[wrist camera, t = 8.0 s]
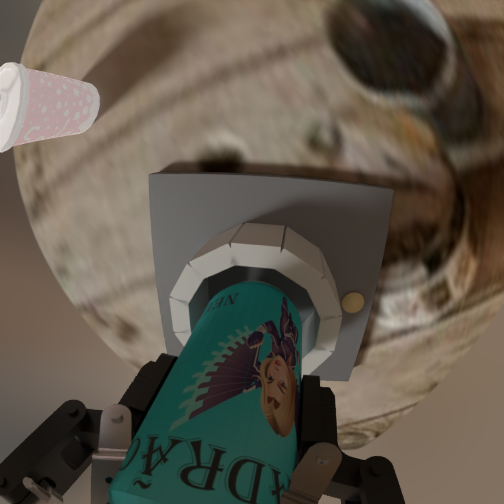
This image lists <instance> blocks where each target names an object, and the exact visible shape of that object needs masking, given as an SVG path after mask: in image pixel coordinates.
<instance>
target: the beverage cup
mask: <svg viewBox="0 0 504 504" xmlns="http://www.w3.org/2000/svg"><path fill="white" fill-rule="evenodd" d="M98 110H99V94H98V91H97V89H96V88H95V87H94V86H93V85H92V84H90V83H87V82H83V81H79V80H75V79H72V78H68V77H64V76H60V75H55V74H51V73H46V72H42V71H37V70H32V69H27V68H25V67H24V66H23V65H22V64H17V63H5V64H4V65H3V66H2V67H0V152H4V151H6V150H8V149H10V148H11V146H16V145H20V144H25V143H29V142H34V141H39V140H44V139H50V138H55V137H61V136H67V135H74V134H79V133H82V132H85V131H86V130H87V129H88V128H89V127H91V125H92V124H93V122H94V120H95V119H96V117H97V113H98Z"/></svg>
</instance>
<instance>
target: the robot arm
mask: <svg viewBox="0 0 504 504" xmlns="http://www.w3.org/2000/svg"><path fill="white" fill-rule="evenodd" d="M177 359H178V357H177V356H174V355H169V354H165V353H162V354H161V355H160V356H159V358H158V359H157V361H156V362H153V361H150V362H148V363H147V364H146V365H144V366H143V367H142V368H141V370H140V371H139V373H138V374H137V376H136V377H135V379H134V381H133V382H132V383H131V385H130V386H129V388H128V389H127V391H126V392H125V394H124V395H123V397H122V399H121V400H120V402H119V403H118V404H114V405H110V406H108V407H107V408H105V409H104V410H92V409H86V407H85V405H84V404H83V403H82V402H81V401H79V400H69V401H66V402H65V403H63V404H62V405H61V406H60V407H59V408H58V409H57V410H56V411H55V412H54V413H53V414H52V415H51V416H50V417H48V418H47V419H46V420H45V421H44V422H43V423H42V424H41V425H40V426H39V427H38V428H37V429H36V430H35V431H34V432H33V433H32V434H31V435H30V436H29V437H27V438H26V439H25V440H24V441H23V442H22V443H21V444H20V445H19V446H18V447H17V448H16V449H15V450H14V451H13V452H12V453H11V454H10V455H9V456H8V457H7V458H6V459H5V460H4V461H3V462H2V463H1V464H0V496H1V497H2V498H4V499H5V500H6V501H7V502H8V503H10V504H63V498H62V496H63V495H64V493H65V492H66V491H67V490H68V489H69V488H70V486H72V484H73V483H74V482H75V481H76V480H77V479H78V478H79V476H80V475H81V474H82V473H83V472H84V471H85V470H86V468H87V467H88V466H89V465H90V464H91V463H92V467H91V504H108V503H109V493H108V490H109V488H110V486H111V484H112V483H111V481H112V480H114V478H115V476H116V474H117V472H118V471H119V469H120V467H121V465H122V463H123V461H124V459H125V457H126V453H127V451H128V449H129V447H130V445H131V443H132V441H133V439H134V438H135V436H136V434H137V432H138V430H139V428H140V426H141V425H142V423H143V421H144V419H145V417H146V415H147V413H148V412H149V410H150V408H151V406H152V404H153V402H154V401H155V399H156V397H157V395H158V393H159V391H160V390H161V388H162V386H163V384H164V382H165V380H166V379H167V377H168V375H169V373H170V371H171V370H172V368H173V366H174V364H175V362H176V361H177ZM335 406H336V405H335V395H334V394H333V392H332V390H331V389H330V387H320V376H317V375H303V377H302V382H301V404H300V425H299V442H298V458H297V467H296V469H295V470H294V472H293V473H292V478H291V487H290V490H289V491H287V490H286V491H284V492H283V493H282V495H281V501H280V504H318V501H319V500H320V498H321V496H322V494H324V495H327V496H331V497H335V498H339V499H341V504H405V501H404V498H403V495H402V492H401V488H400V485H399V482H398V479H397V477H396V473H395V470H394V467H393V465H392V463H391V462H390V461H389V460H388V459H386V458H385V457H382V456H374V457H370V458H368V459H366V460H361V459H358V458H354V457H350V456H348V455H346V454H345V453H343V452H342V451H341V449H340V448H339V446H338V442H337V422H336V407H335ZM110 483H111V484H110Z"/></svg>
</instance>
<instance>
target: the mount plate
mask: <svg viewBox="0 0 504 504" xmlns="http://www.w3.org/2000/svg"><path fill="white" fill-rule="evenodd" d="M393 194H394V190H393V189H391V188H389V187H386V186H379V185H372V184H364V183H356V182H348V181H340V180H330V179H321V178H310V177H298V176H286V175H271V174H253V173H228V172H156V173H152V174H149V198H150V217H151V232H152V244H153V255H154V265H155V274H156V283H157V291H158V299H159V306H160V313H161V319H162V326H163V332H164V338H165V344H166V349H167V354H169V355H174V356H177V357H179V355H180V353H181V352H182V350H183V348H184V346H185V344H186V343H187V341H188V339H189V337H190V335H191V334H192V332H193V330H194V328H195V326H196V325H197V323H198V321H199V319H200V318H201V316H202V314H203V312H204V310H205V309H206V307H207V305H208V304H209V302H210V300H211V299H212V298H213V297H214V296H215V295H216V294H218V293H219V292H220V291H222V290H224V289H226V288H228V287H230V286H232V285H235V284H238V283H241V282H244V281H262V282H266V283H269V284H271V285H274V286H275V287H277V288H279V289H280V290H281V291H282V292H283V293H284V294H285V295H286V296H287V297H288V298H289V299H290V300H291V302H292V303H293V304H294V306H295V307H296V309H297V311H298V313H299V315H300V317H301V322H302V377H303V375H317V376H320V380H326V381H349V378H350V375H351V372H352V369H353V367H354V364H355V361H356V358H357V355H358V352H359V348H360V345H361V342H362V339H363V335H364V332H365V329H366V325H367V322H368V318H369V315H370V311H371V307H372V303H373V299H374V295H375V291H376V287H377V283H378V279H379V274H380V270H381V265H382V260H383V255H384V250H385V245H386V240H387V234H388V228H389V222H390V216H391V209H392V202H393ZM302 377H301V379H302Z"/></svg>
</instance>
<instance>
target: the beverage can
mask: <svg viewBox="0 0 504 504" xmlns="http://www.w3.org/2000/svg"><path fill="white" fill-rule="evenodd" d="M301 377H302V322H301V317H300V315H299V313H298V311H297V309H296V307H295V306H294V304H293V303H292V302H291V300H290V299H289V298H288V297H287V296H286V295H285V294H284V293H283V292H282V291H281V290H280V289H279V288H277V287H275V286H274V285H271V284H269V283H266V282H262V281H244V282H241V283H238V284H235V285H232V286H230V287H228V288H226V289H224V290H222V291H220V292H219V293H218V294H216V295H215V296H214V297H213V298H212V299H211V300H210V302H209V304H208V305H207V307H206V309H205V310H204V312H203V314H202V316H201V318H200V319H199V321H198V323H197V325H196V326H195V328H194V330H193V332H192V334H191V335H190V337H189V339H188V341H187V343H186V344H185V346H184V348H183V350H182V352H181V353H180V355H179V357H178V359H177V361H176V362H175V364H174V366H173V368H172V370H171V371H170V373H169V375H168V377H167V379H166V380H165V382H164V384H163V386H162V388H161V390H160V391H159V393H158V395H157V397H156V399H155V401H154V402H153V404H152V406H151V408H150V410H149V412H148V413H147V415H146V417H145V419H144V421H143V423H142V425H141V426H140V428H139V430H138V432H137V434H136V436H135V438H134V439H133V441H132V443H131V445H130V447H129V449H128V451H127V453H126V457H125V459H124V461H123V463H122V465H121V467H120V469H119V471H118V472H117V474H116V476H115V478H114V480H112V481H111V483H112V484H111V483H110V484H111V486H110V488H109V490H108V493H109V503H108V504H280V501H281V495H282V493H283V492H284V491H286V490H287V491H289V490H290V487H291V478H292V473H293V472H294V470H295V469H296V467H297V458H298V442H299V425H300V404H301Z"/></svg>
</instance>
